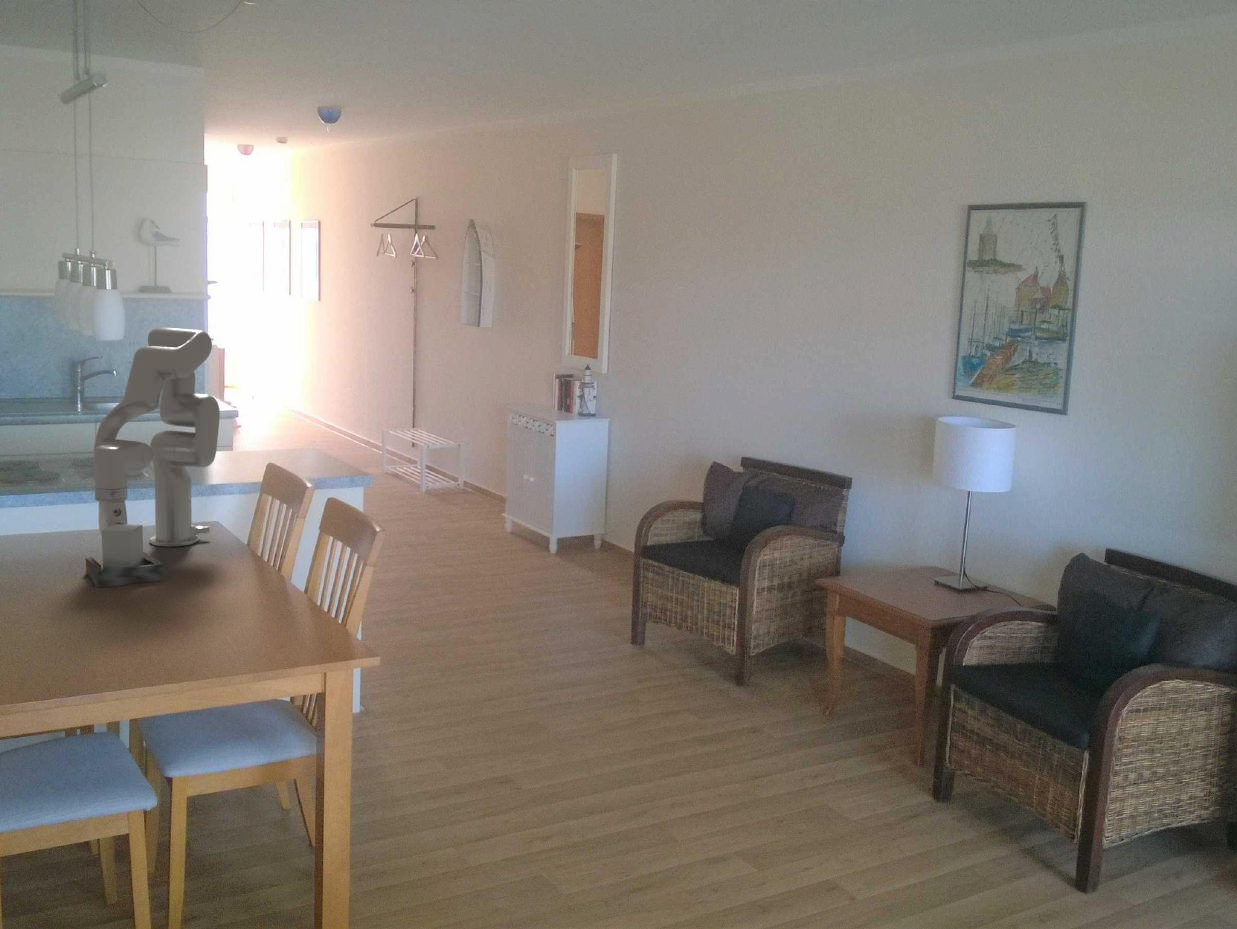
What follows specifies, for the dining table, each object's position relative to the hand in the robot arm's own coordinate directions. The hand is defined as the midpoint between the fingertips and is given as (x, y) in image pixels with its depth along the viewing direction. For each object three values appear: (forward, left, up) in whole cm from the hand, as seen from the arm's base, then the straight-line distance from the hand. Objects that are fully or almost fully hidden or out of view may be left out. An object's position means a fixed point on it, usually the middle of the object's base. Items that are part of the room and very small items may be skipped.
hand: (112, 563), depth 289 cm
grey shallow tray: (0, +10, -1) cm, 10 cm away
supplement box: (0, +9, -1) cm, 9 cm away
